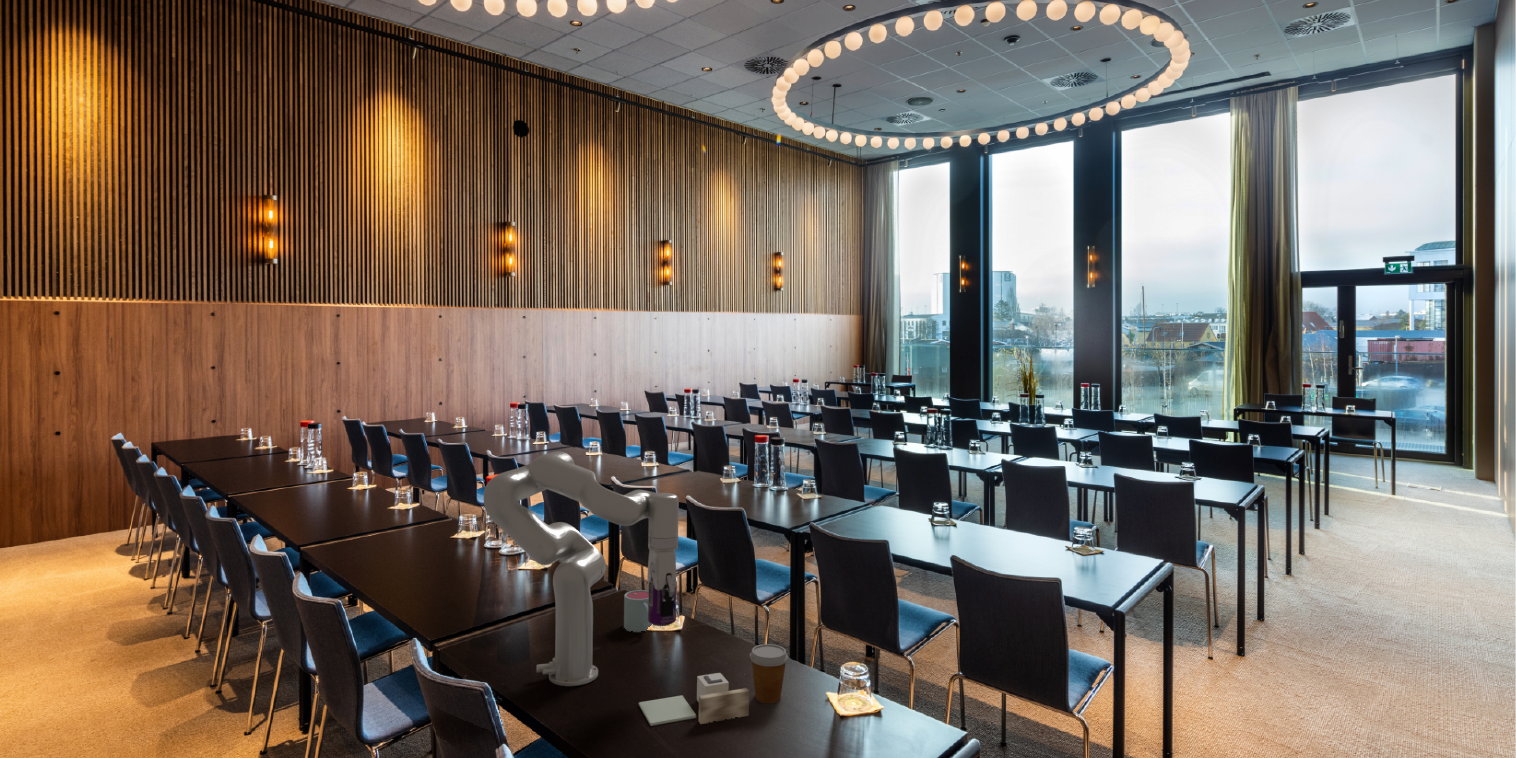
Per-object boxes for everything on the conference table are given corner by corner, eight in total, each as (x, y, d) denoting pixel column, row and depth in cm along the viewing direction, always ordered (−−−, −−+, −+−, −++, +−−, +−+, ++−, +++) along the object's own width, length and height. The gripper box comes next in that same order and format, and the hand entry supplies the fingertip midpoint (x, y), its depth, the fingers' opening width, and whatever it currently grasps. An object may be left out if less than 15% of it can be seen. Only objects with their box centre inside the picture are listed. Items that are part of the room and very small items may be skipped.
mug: (620, 623, 240) (621, 592, 239) (649, 619, 244) (649, 588, 243) (632, 639, 227) (633, 605, 227) (662, 634, 231) (662, 602, 231)
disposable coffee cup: (774, 710, 185) (775, 661, 184) (741, 700, 190) (742, 652, 189) (793, 695, 193) (795, 648, 192) (761, 686, 198) (762, 640, 197)
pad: (650, 725, 176) (650, 723, 176) (638, 704, 186) (638, 702, 186) (696, 717, 180) (696, 715, 180) (682, 697, 190) (682, 695, 190)
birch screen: (700, 724, 177) (701, 698, 177) (698, 721, 179) (699, 695, 178) (748, 715, 182) (749, 690, 182) (746, 712, 183) (746, 687, 183)
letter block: (704, 710, 184) (705, 685, 183) (696, 700, 189) (697, 675, 189) (728, 706, 186) (728, 681, 186) (719, 696, 191) (720, 671, 191)
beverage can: (671, 629, 192) (672, 581, 191) (644, 626, 193) (645, 579, 192) (679, 619, 199) (680, 573, 198) (653, 617, 200) (653, 571, 199)
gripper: (639, 535, 201) (638, 602, 202) (659, 552, 185) (658, 624, 186) (667, 533, 204) (665, 598, 205) (688, 549, 189) (687, 620, 189)
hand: (662, 610), depth 196 cm, fingers closed on beverage can, 7 cm apart
